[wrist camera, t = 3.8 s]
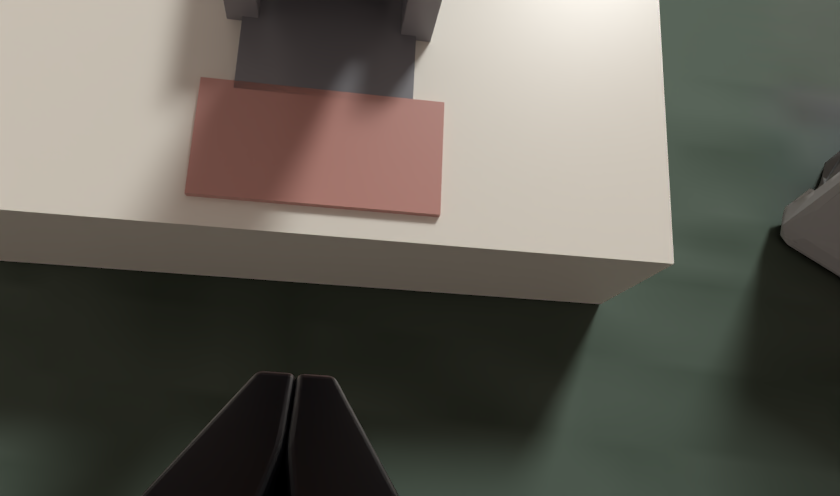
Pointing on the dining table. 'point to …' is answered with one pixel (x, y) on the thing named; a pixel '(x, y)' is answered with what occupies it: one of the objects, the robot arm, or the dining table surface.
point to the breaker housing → (340, 142)
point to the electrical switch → (817, 220)
